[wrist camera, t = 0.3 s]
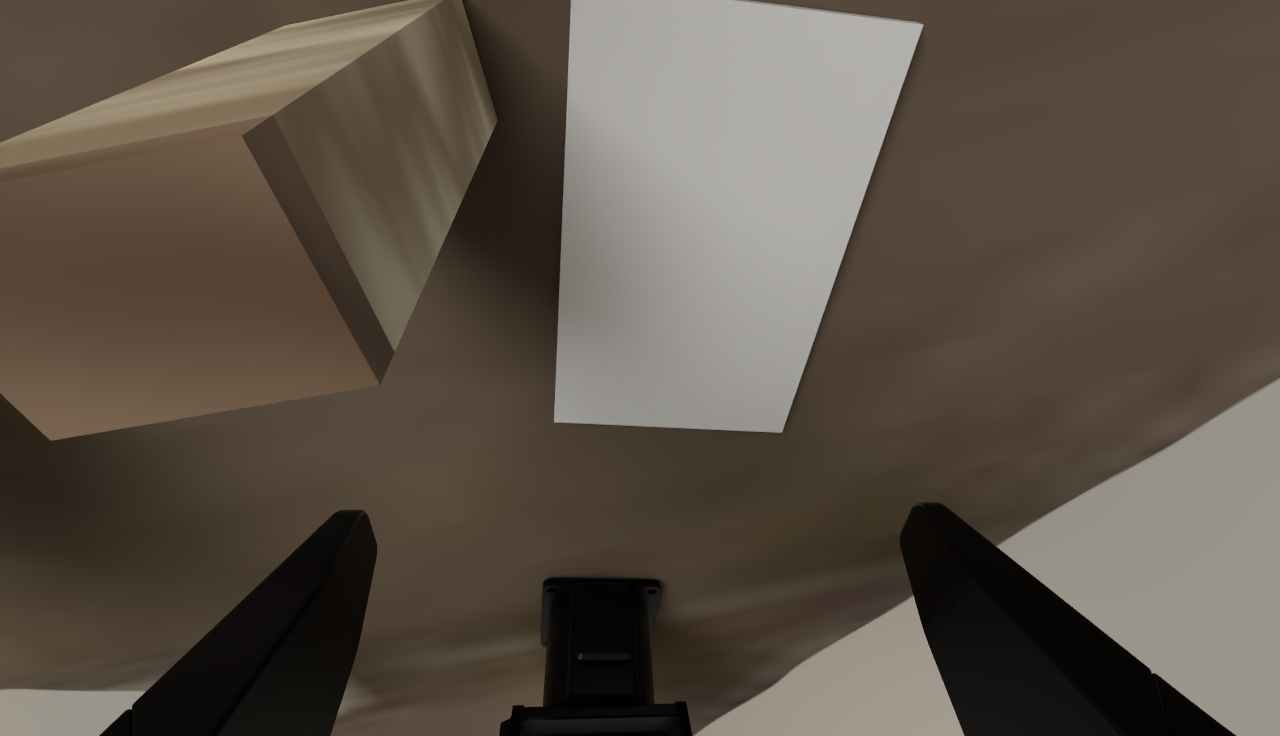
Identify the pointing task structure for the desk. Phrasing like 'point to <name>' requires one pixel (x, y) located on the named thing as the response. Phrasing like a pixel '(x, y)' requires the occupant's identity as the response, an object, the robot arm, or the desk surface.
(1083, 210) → the desk surface
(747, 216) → the grey board
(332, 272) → the birch block
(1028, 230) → the desk surface
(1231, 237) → the desk surface
